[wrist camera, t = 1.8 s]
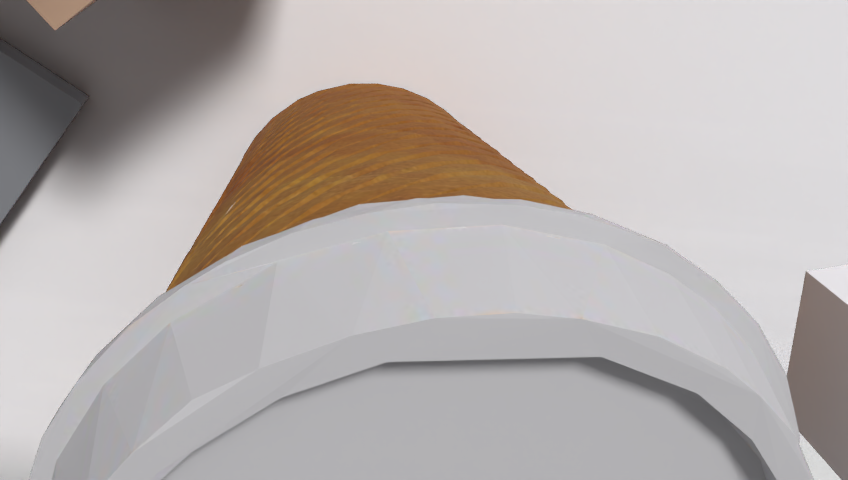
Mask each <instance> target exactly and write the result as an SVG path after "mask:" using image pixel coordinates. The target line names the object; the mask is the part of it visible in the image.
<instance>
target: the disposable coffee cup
mask: <svg viewBox="0 0 848 480" xmlns="http://www.w3.org/2000/svg"><path fill="white" fill-rule="evenodd" d="M799 440H800V434H799V429H798V425H797V420H796V416H795V411H794V407H793V402H792V398H791V393H790V389H789V384H788V380H787V375H786V373H785V371H784V369H783V368H782V366H781V364H780V362H779V360H778V359H777V357H776V355H775V353H774V351H773V350H772V348H771V346H770V344H769V342H768V340H767V339H766V337H765V335H764V333H763V331H762V330H761V328H760V326H759V324H758V323H757V322H756V321H755V320H754V319H753V318H752V317H751V316H750V314H749V313H748V312H747V311H746V310H745V309H744V308H743V307H742V306H741V305H740V304H739V303H738V302H737V301H736V300H735V299H734V298H733V296H732V295H731V294H730V293H729V292H728V291H727V290H726V289H725V288H724V287H723V286H722V285H721V284H720V283H719V282H718V281H716V280H715V279H714V278H712V277H711V276H709V275H708V274H707V273H705V272H704V271H702V270H701V269H700V268H698V267H697V266H695V265H694V264H693V263H691V262H690V261H688V260H687V259H686V258H684V257H683V256H681V255H680V254H678V253H677V252H676V251H674V250H673V249H671V248H670V247H669V246H667V245H665V244H663V243H660V242H658V241H656V240H653V239H651V238H648V237H646V236H643V235H641V234H639V233H636V232H634V231H631V230H629V229H627V228H624V227H622V226H619V225H617V224H615V223H612V222H610V221H607V220H605V219H603V218H600V217H598V216H595V215H593V214H589V213H584V212H579V211H575V210H572V209H571V208H569V207H567V206H566V205H565V204H564V202H563V201H562V200H560V199H559V198H557V197H555V196H554V195H552V194H551V193H550V192H549V191H548V190H547V189H546V188H545V187H543V186H541V185H540V184H538V183H537V182H536V181H535V180H534V179H533V178H532V177H530V176H529V175H527V174H525V173H524V172H523V171H522V170H521V169H519V168H518V167H516V166H515V165H513V163H512V162H511V161H509V160H508V159H506V158H505V157H503V156H502V155H501V154H500V153H499V152H498V151H497V150H495V149H494V148H492V147H490V145H488V144H487V143H485V142H484V141H482V140H481V139H480V138H479V137H478V136H476V135H475V134H473V133H472V131H470V130H469V129H467V128H466V127H465V126H463V125H462V124H460V123H459V122H458V121H457V120H456V119H454V118H453V117H452V116H451V115H450V114H449V113H447V112H446V111H445V110H444V109H442V108H441V107H439V106H438V105H436V104H435V103H433V102H432V101H430V100H429V99H427V98H425V97H422V96H420V95H417V94H415V93H412V92H410V91H408V90H405V89H402V88H397V87H392V86H386V85H381V84H347V85H343V86H339V87H334V88H330V89H326V90H321V91H318V92H315V93H313V94H311V95H308V96H306V97H304V98H301V99H299V100H297V101H296V102H294V103H293V104H292V105H290V106H289V107H287V108H286V109H285V110H283V111H282V112H280V113H279V114H278V115H276V116H275V117H273V118H272V119H271V120H270V122H269V123H268V124H267V125H266V126H265V127H264V128H263V129H262V130H261V131H260V132H259V134H258V135H257V136H256V137H255V138H254V140H253V142H252V143H251V145H250V146H249V148H248V149H247V151H246V153H245V154H244V156H243V159H242V161H241V163H240V165H239V166H238V168H237V170H236V171H235V173H234V175H233V177H232V179H231V180H230V182H229V184H228V185H227V187H226V189H225V191H224V192H223V194H222V196H221V198H220V199H219V201H218V203H217V204H216V206H215V208H214V210H213V211H212V213H211V214H210V216H209V218H208V220H207V222H206V223H205V225H204V227H203V228H202V230H201V232H200V234H199V235H198V237H197V239H196V240H195V242H194V245H193V246H192V248H191V249H190V251H189V252H188V254H187V255H186V257H185V259H184V260H183V262H182V264H181V266H180V267H179V269H178V271H177V273H176V275H175V276H174V278H173V280H172V282H171V284H170V285H169V287H168V289H167V291H166V292H165V293H164V294H162V295H160V296H159V297H157V298H156V299H155V300H154V301H153V302H152V303H151V304H150V305H149V306H148V307H147V308H146V309H145V310H144V311H143V312H142V313H140V314H139V315H138V316H137V317H136V318H135V319H134V320H133V321H132V322H131V323H130V324H129V325H128V326H127V327H126V328H125V329H123V330H122V331H121V332H120V333H119V334H118V335H117V336H116V337H115V338H114V339H113V340H112V341H111V342H110V343H109V344H108V345H107V346H105V347H104V348H103V349H102V350H101V351H100V352H99V353H98V354H97V355H96V356H95V358H94V359H93V360H92V362H91V363H90V365H89V366H88V367H87V369H86V370H85V371H84V373H83V374H82V376H81V377H80V378H79V380H78V381H77V383H76V384H75V386H74V387H73V388H72V390H71V391H70V393H69V394H68V396H67V397H66V399H65V400H64V402H63V403H62V405H61V406H60V408H59V409H58V411H57V413H56V414H55V416H54V418H53V419H52V421H51V423H50V425H49V426H48V428H47V430H46V431H45V433H44V435H43V437H42V439H41V442H40V445H39V448H38V451H37V455H36V458H35V461H34V464H33V467H32V471H31V474H30V477H29V480H814V479H813V476H812V474H811V471H810V469H809V467H808V464H807V462H806V459H805V457H804V454H803V452H802V450H801V447H800V445H799Z"/></svg>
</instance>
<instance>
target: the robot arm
mask: <svg viewBox="0 0 848 480" xmlns="http://www.w3.org/2000/svg"><path fill="white" fill-rule="evenodd" d="M787 380H788V384H789V389H790V393H791V398H792V402H793V407H794V411H795V416H796V420H797V425H798V429H799V432H800V433H801V434H802V435H803V436H804V438H805V439H806V440H807V441H808V442H809V443H810V444H811V446H812V447H813V448H814V449H815V450H816V451H817V452H818V453H819V455H820V456H821V457H822V458H823V459H824V460H825V461H826V462H827V464H828V465H829V466H830V467H831V468H832V469H833V470H834V471H835V473H836V474H837V475H838V476H839V477H840V478H841V479H842V480H848V264H847V265H840V266H834V267H828V268H821V269H815V270H809V271H806V273H805V279H804V284H803V290H802V295H801V301H800V306H799V312H798V317H797V323H796V328H795V334H794V339H793V345H792V351H791V356H790V362H789V367H788V373H787Z"/></svg>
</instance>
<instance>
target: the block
mask: <svg viewBox="0 0 848 480" xmlns="http://www.w3.org/2000/svg"><path fill="white" fill-rule="evenodd" d="M26 1H27V2H28V3H29V4H30V5H31V6H32V7H33V8H34V9H35V10H36V11H37V12H38V13H39V14H40V15H41V16H42V17H43V19H44V20H45V21H46V22H47V23H48V24H49V25H50V26H51V27H52V28H53V29H54V30H57V29H58V28H60V27H61V26H62V25H64V24H65V23H66V22H68V21H69V20H71V19H72V18H73V17H75V16H76V15H78V14H79V13H80V12H82V11H83V10H84V9H86V8H87V7H89V6H90V5H91V4H93V3H94V2H95V1H97V0H26Z"/></svg>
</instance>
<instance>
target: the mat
mask: <svg viewBox="0 0 848 480" xmlns="http://www.w3.org/2000/svg"><path fill="white" fill-rule="evenodd" d="M88 97H89V96H88V95H86V94H85V93H83V92H82V91H80V90H78V89H77V88H75V87H74V86H72V85H71V84H69V83H68V82H66V81H65V80H63V79H62V78H60V77H59V76H57V75H55V74H54V73H52V72H51V71H49V70H48V69H46V68H45V67H43V66H42V65H40V64H39V63H37V62H36V61H34V60H33V59H31V58H29V57H28V56H26V55H25V54H23V53H22V52H20V51H19V50H17V49H16V48H14V47H13V46H11V45H10V44H8V43H6V42H5V41H3V40H2V39H0V225H1V223H2V222H3V221H4V219H5V218H6V216H7V215H8V213H9V212H10V210H11V209H12V207H13V206H14V205H15V203H16V202H17V200H18V199H19V197H20V196H21V194H22V193H23V192H24V190H25V189H26V187H27V186H28V184H29V183H30V181H31V180H32V178H33V177H34V176H35V174H36V173H37V171H38V170H39V168H40V167H41V165H42V164H43V163H44V161H45V160H46V158H47V157H48V155H49V154H50V152H51V151H52V149H53V148H54V147H55V145H56V144H57V142H58V141H59V139H60V138H61V136H62V135H63V134H64V132H65V131H66V129H67V128H68V126H69V125H70V123H71V122H72V120H73V119H74V118H75V116H76V115H77V113H78V112H79V110H80V109H81V107H82V106H83V105H84V103H85V102H86V100H87V99H88Z"/></svg>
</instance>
